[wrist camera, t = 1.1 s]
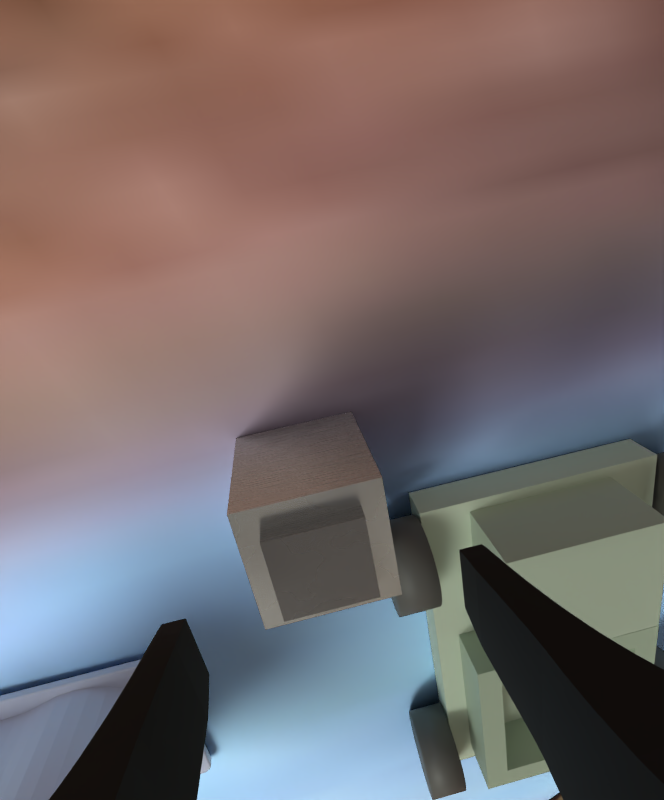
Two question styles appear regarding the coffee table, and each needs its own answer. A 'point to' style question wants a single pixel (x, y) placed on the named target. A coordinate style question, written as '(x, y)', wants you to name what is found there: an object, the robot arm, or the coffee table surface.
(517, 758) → the chassis
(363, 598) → the engine block
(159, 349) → the coffee table surface
